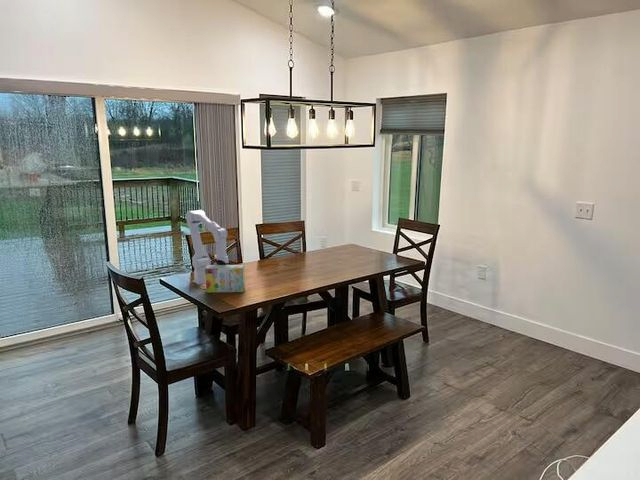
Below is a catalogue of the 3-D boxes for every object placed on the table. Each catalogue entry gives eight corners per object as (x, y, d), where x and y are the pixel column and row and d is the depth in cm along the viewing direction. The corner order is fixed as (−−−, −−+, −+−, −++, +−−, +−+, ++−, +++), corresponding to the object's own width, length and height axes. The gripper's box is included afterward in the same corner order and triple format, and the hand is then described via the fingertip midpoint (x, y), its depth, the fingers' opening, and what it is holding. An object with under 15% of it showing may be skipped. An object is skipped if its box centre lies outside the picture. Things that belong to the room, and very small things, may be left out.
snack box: (245, 288, 267) (244, 264, 262) (244, 292, 262) (242, 268, 257) (208, 288, 267) (206, 264, 262) (206, 292, 261) (204, 268, 256)
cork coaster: (197, 286, 273) (197, 285, 273) (211, 283, 278) (211, 282, 278) (203, 290, 266) (203, 289, 266) (218, 287, 271) (218, 286, 271)
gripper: (233, 251, 260) (234, 274, 263) (222, 246, 271) (222, 269, 274) (221, 252, 256) (222, 276, 258) (210, 248, 267) (211, 270, 270)
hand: (221, 272), depth 266 cm, fingers closed
